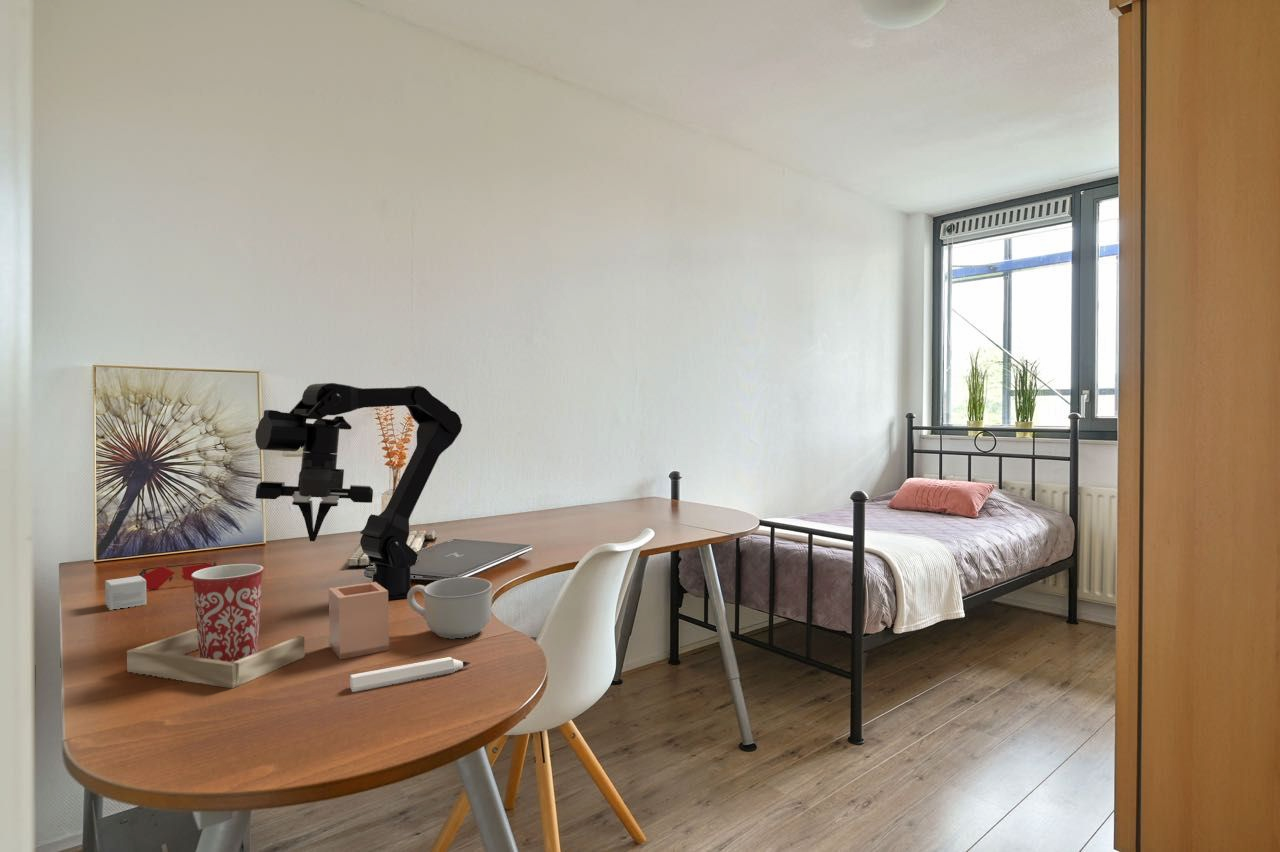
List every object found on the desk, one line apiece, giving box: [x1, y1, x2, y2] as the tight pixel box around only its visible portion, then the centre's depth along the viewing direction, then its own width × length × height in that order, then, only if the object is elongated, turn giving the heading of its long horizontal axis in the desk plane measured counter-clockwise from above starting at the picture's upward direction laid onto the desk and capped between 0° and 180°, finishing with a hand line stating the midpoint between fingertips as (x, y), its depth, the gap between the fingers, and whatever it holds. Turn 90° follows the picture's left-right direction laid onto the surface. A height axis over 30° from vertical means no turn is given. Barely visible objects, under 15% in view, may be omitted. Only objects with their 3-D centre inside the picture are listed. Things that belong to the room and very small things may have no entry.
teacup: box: [406, 576, 493, 640], centre depth 118 cm, size 14×11×8 cm
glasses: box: [138, 562, 218, 591], centre depth 155 cm, size 14×16×5 cm
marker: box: [349, 656, 471, 693], centre depth 98 cm, size 3×2×16 cm
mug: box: [191, 563, 265, 662], centre depth 106 cm, size 13×9×14 cm
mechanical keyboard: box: [347, 529, 438, 570], centre depth 184 cm, size 38×19×3 cm, turn 13°
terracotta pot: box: [328, 581, 390, 660], centre depth 111 cm, size 7×7×9 cm
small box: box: [104, 575, 147, 611], centre depth 136 cm, size 6×6×5 cm
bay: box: [126, 627, 306, 689], centre depth 104 cm, size 12×19×3 cm, turn 72°
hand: (312, 541), depth 129 cm, fingers closed
